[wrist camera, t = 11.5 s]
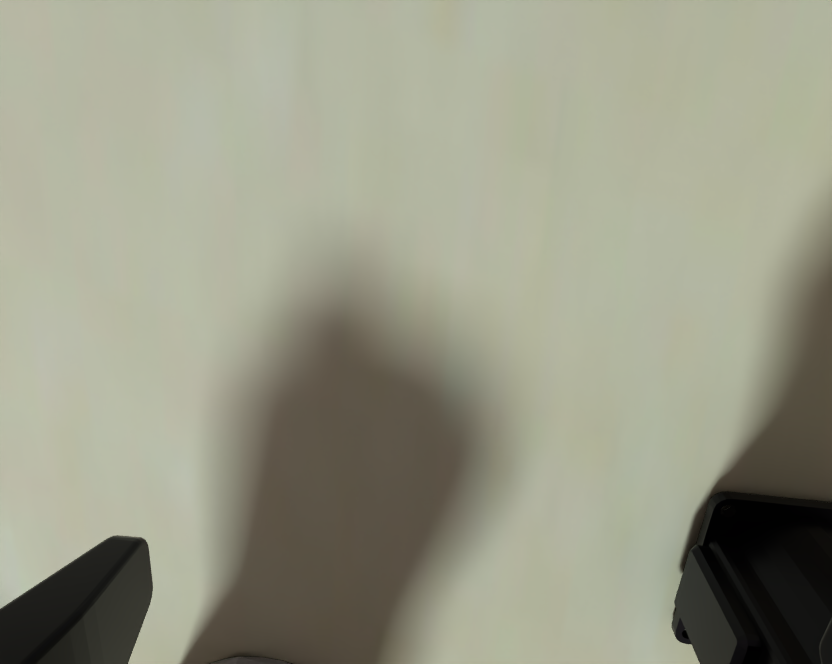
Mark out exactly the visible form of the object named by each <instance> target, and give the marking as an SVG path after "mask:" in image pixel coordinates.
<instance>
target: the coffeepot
mask: <svg viewBox="0 0 832 664" xmlns="http://www.w3.org/2000/svg"><path fill="white" fill-rule="evenodd" d="M210 664H291V663H288V662H285V661H281V660H275V659H270V658H264V657H234V658H228V659H223V660H220V661H216V662H213V663H210Z"/></svg>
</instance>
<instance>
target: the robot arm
mask: <svg viewBox="0 0 832 664" xmlns="http://www.w3.org/2000/svg"><path fill="white" fill-rule="evenodd" d="M726 505H731V506H730V507H729V508H728V509H726V510H721V509H722V508H723V507H724V506H726ZM152 591H153V583H152V574H151V565H150V556H149V548H148V544H147V542H146V540H145V539H143V538H141V537H130V536H118V535H117V536H112V537H110V538H108V539H106V540H104V541H103V542H101V543H100V544H98V545H97V546H95V547H94V548H92V549H91V550H89V551H88V552H86V553H85V554H83V555H82V556H80V557H78V558H77V559H75V560H74V561H72V562H71V563H69V564H68V565H66V566H65V567H63V568H62V569H60V570H59V571H57V572H56V573H54V574H53V575H51V576H50V577H48V578H47V579H45V580H43V581H42V582H40V583H39V584H37V585H36V586H34V587H33V588H31V589H30V590H28V591H27V592H25V593H24V594H22V595H21V596H19V597H18V598H16V599H15V600H13V601H12V602H10V603H8V604H7V605H5V606H4V607H2V608H1V609H0V664H128V662H129V659H130V656H131V654H132V651H133V648H134V646H135V643H136V640H137V637H138V635H139V632H140V629H141V627H142V624H143V621H144V619H145V616H146V613H147V611H148V608H149V605H150V602H151V598H152ZM675 606H676V611H675V615H674V618H673V621H672V629H673V632H674V634H675V637H676V638H677V640H678V641H680V642H682V643H685V644H692V646H693V648H694V651H695V653H696V655H697V658H698V660H699V662H700V664H832V503H831V502H822V501H812V500H803V499H793V498H784V497H774V496H765V495H755V494H746V493H736V492H720V493H717V494H715V495H714V496H713V497H712V498H711V499H710V501H709V504H708V507H707V510H706V514H705V517H704V520H703V523H702V527H701V530H700V533H699V536H698V540H697V543H696V545H695V546H694V547H693V548H692V549H691V550H690V552H689V555H688V558H687V561H686V565H685V568H684V571H683V575H682V578H681V581H680V585H679V588H678V591H677V594H676V598H675Z"/></svg>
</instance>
